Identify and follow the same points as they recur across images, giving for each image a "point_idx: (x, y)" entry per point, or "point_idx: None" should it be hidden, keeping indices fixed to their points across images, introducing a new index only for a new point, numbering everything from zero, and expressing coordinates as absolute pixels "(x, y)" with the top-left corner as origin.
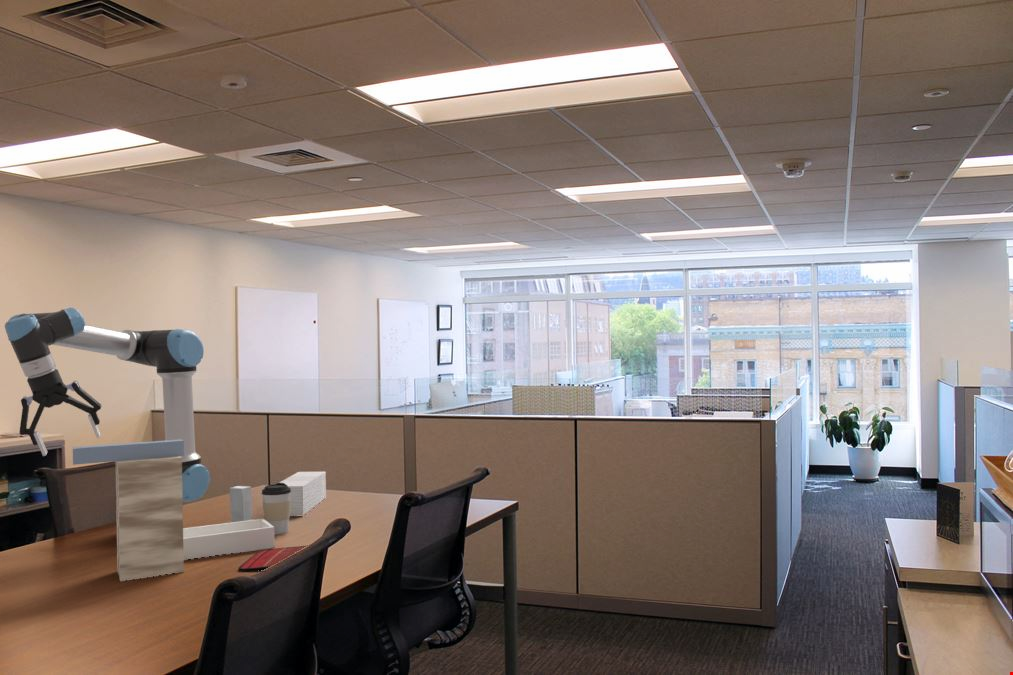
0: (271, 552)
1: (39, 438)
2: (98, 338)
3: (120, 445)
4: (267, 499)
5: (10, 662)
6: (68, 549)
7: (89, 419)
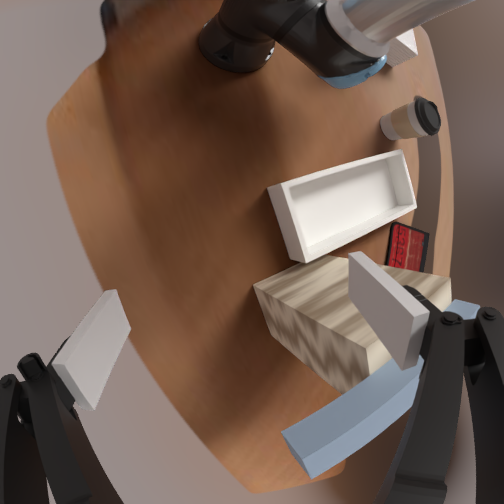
0: (402, 247)
1: (100, 376)
2: None
3: (403, 413)
4: (418, 129)
5: (250, 491)
6: (130, 122)
7: (394, 358)
